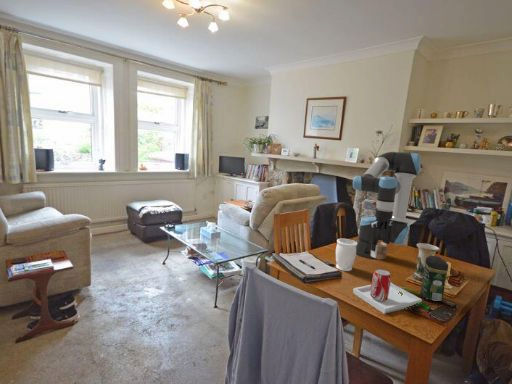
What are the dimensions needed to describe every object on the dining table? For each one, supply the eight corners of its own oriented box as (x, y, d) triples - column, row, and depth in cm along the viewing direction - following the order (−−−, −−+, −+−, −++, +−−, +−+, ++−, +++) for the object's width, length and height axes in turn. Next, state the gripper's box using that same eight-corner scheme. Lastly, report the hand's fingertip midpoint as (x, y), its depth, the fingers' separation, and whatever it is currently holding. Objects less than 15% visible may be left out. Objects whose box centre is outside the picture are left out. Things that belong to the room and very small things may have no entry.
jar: (355, 273, 147) (358, 245, 145) (334, 270, 149) (337, 243, 147) (352, 265, 157) (355, 239, 155) (333, 262, 159) (336, 237, 157)
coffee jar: (418, 290, 133) (424, 252, 130) (437, 294, 131) (444, 255, 128) (423, 300, 124) (430, 260, 121) (444, 304, 122) (452, 263, 119)
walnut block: (377, 254, 141) (379, 243, 140) (385, 258, 137) (387, 246, 136) (370, 255, 139) (371, 244, 138) (378, 259, 135) (380, 247, 134)
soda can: (385, 304, 117) (390, 277, 115) (367, 298, 121) (371, 272, 119) (389, 297, 123) (393, 271, 121) (371, 292, 127) (375, 266, 125)
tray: (387, 285, 136) (388, 281, 136) (421, 304, 121) (422, 299, 121) (352, 292, 127) (353, 288, 126) (384, 314, 112) (385, 308, 111)
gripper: (391, 207, 141) (384, 251, 145) (364, 208, 134) (358, 255, 138) (404, 210, 135) (397, 257, 139) (376, 212, 127) (370, 261, 131)
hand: (377, 256), depth 138 cm, fingers closed on walnut block, 5 cm apart
